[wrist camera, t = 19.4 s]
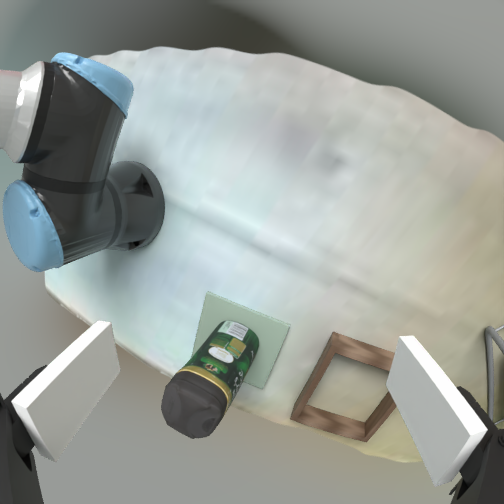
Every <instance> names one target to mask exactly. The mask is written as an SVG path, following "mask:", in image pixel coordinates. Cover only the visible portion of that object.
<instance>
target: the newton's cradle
mask: <svg viewBox="0 0 504 504" xmlns="http://www.w3.org/2000/svg"><path fill="white" fill-rule="evenodd" d="M502 328H504V325H503V326H501V327H499V328H498V329H496V330H495V329H494V328H493V327H492V326H488V327H487V328H486V331H485V336H486V346H487V359H488V381H489V408H488V416H489V418H490V419H491V420H492V422H493V406H494V366H493V348H492V338H493V340H494V341H495V343H496V344H497V345H498V347H499V348H500V350H501V351H502V352H503V354H504V341H503V340H502V338H501V337H500V336H499V334H498V333H497V331H499V330H500V329H502ZM503 420H504V419H502V420H500V421H498V422H496V423H494V424H495V425H496V424H498V423H500V422H502V421H503Z"/></svg>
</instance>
